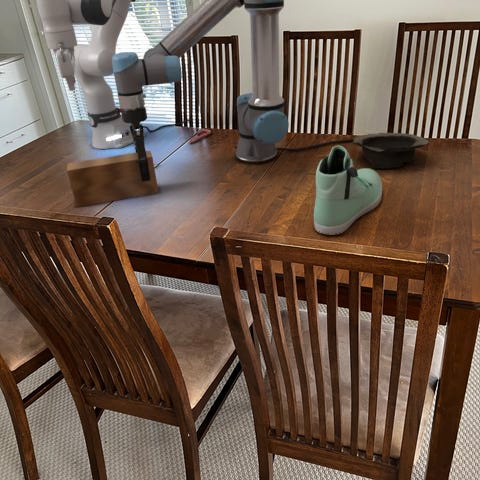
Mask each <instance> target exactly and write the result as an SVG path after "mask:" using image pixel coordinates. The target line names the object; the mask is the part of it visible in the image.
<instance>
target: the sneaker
mask: <svg viewBox="0 0 480 480" xmlns="http://www.w3.org/2000/svg"><path fill="white" fill-rule="evenodd" d="M317 165H318V166H317V168H316V172H315V201H314V207H313V225H314V229H315V231H316V232H318V233H320V234H323V235H326V236H327V235H328V236H336V235H339V234H342V233H344V232H345V231H347V230H348V229H349V228H350V227H351V226H352V225H353V224H354V222H356V221H357V220H358V219H359V218H360V217H362V216H363V215H365V214H367V213H370V212H372V210H374V209H375V208H377V207H378V205H380V203H381V200H382V196H383V184H382V183H383V182H382V179H381V176H380V175H379V173H378V172H377V171H376V170H374V169H372V168H367V167H365V168H358V169H357V168H355V167H354V161H353V159H352V158H351V156H350V153H349V152H348V150H347V148H345V147H344V146H342V145H334V146H333V147H331V149H330V151H329V154H327V155H326V156H325V157H324V158H322V159H321V160H320V161H319V163H318V164H317ZM343 230H344V231H343ZM319 231H320V232H319ZM322 232H323V233H322ZM339 232H340V233H339ZM326 233H327V234H326ZM328 233H329V234H328ZM335 233H337V234H335Z"/></svg>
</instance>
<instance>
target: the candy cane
mask: <svg viewBox="0 0 480 480" xmlns="http://www.w3.org/2000/svg"><path fill="white" fill-rule="evenodd" d="M196 134H197V135H198V136H196V137H194V138H192V139H190V140H189V142H188V143H189V144H191V145H192V144H194V143H196V142H199V140H203V139H204V138H206V137H208V136H210V135H211V134H212V131H211V130H210V129H208V128H203V129H200V130H199V129H198V130H197V132H196Z"/></svg>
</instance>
